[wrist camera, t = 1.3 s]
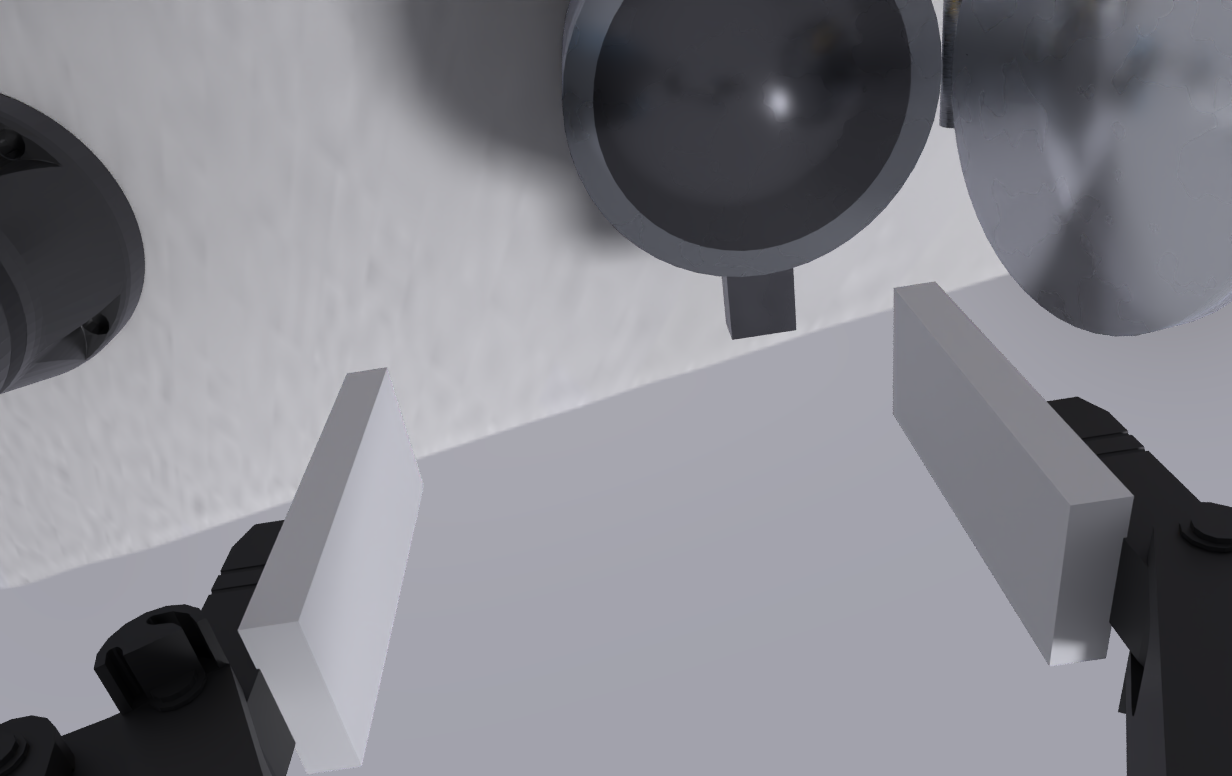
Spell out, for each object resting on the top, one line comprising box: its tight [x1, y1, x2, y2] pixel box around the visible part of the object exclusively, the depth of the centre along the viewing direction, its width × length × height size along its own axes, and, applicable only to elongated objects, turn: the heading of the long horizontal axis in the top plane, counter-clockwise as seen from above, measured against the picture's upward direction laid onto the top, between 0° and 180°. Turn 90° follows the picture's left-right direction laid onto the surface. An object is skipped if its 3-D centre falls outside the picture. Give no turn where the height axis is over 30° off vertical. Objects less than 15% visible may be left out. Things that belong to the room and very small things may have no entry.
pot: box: [562, 0, 962, 340], centre depth 40 cm, size 17×22×10 cm
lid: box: [952, 0, 1232, 336], centre depth 29 cm, size 15×15×4 cm
